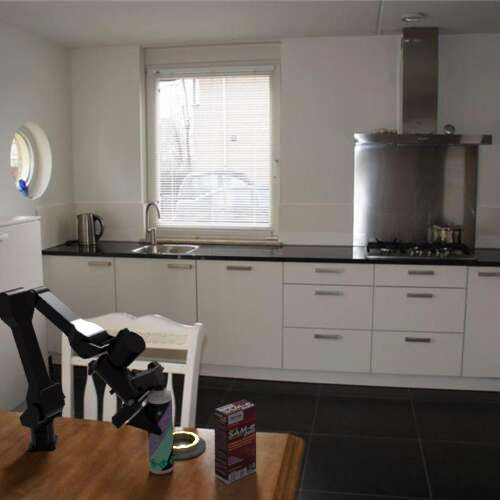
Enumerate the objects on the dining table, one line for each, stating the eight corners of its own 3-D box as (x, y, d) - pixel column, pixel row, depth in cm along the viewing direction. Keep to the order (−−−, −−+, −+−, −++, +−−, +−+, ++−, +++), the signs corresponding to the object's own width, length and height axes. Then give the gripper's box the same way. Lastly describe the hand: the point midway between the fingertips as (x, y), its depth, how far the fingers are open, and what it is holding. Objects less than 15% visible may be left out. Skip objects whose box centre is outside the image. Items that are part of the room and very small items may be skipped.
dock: (154, 438, 157) (154, 431, 157) (202, 434, 159) (202, 426, 159) (157, 462, 146) (156, 454, 145) (208, 457, 148) (208, 448, 147)
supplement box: (228, 485, 135) (226, 415, 133) (214, 476, 139) (212, 408, 136) (258, 471, 141) (257, 404, 138) (243, 463, 145) (242, 398, 142)
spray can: (144, 468, 142) (141, 383, 138) (163, 459, 146) (160, 377, 142) (159, 476, 138) (156, 390, 135) (178, 467, 142) (176, 383, 139)
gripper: (122, 369, 129) (174, 425, 129) (157, 341, 147) (203, 390, 147) (89, 401, 133) (140, 456, 132) (127, 370, 150) (172, 418, 150)
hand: (166, 428), depth 140 cm, fingers closed on spray can, 5 cm apart
